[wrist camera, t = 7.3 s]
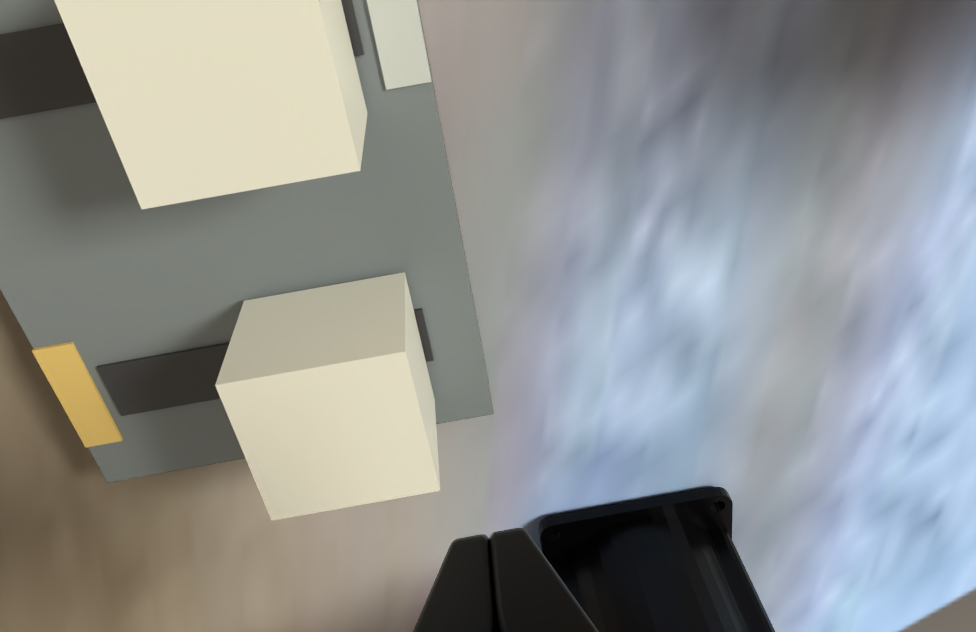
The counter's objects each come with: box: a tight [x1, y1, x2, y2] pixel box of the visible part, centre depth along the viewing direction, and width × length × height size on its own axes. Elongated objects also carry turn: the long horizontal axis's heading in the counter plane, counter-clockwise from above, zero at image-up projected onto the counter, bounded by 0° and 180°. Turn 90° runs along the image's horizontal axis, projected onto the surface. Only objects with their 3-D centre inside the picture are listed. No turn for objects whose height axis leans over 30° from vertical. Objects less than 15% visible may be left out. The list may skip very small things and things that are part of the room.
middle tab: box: [54, 0, 367, 209], centre depth 15 cm, size 4×4×4 cm
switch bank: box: [0, 0, 494, 482], centre depth 17 cm, size 11×22×2 cm, turn 8°
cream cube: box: [215, 272, 440, 521], centre depth 19 cm, size 4×4×4 cm
